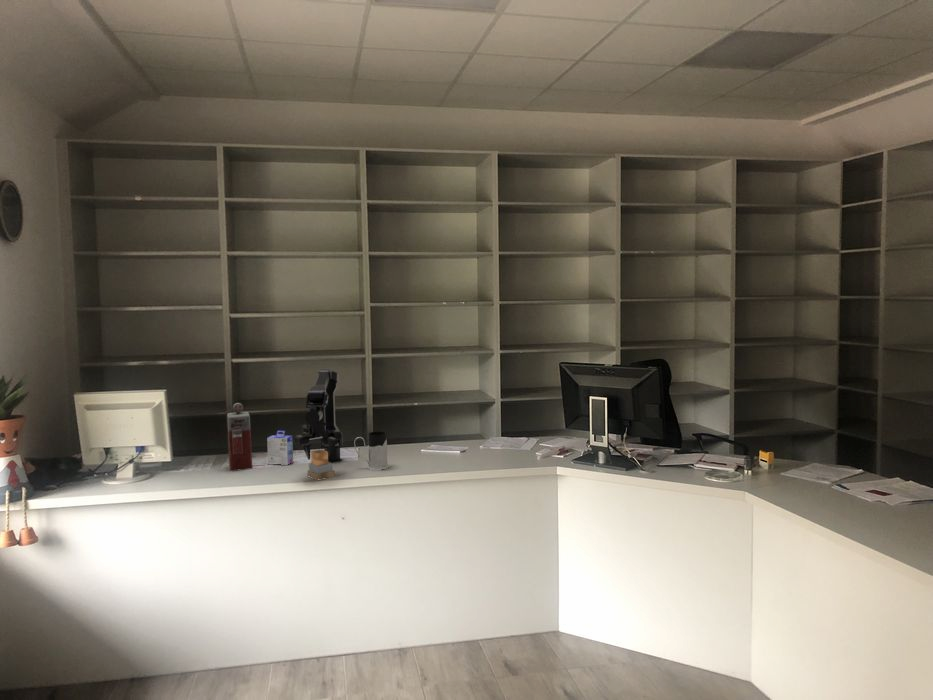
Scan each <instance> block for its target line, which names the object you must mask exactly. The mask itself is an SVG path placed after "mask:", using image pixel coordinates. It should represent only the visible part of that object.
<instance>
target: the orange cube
mask: <svg viewBox="0 0 933 700" xmlns="http://www.w3.org/2000/svg"><path fill="white" fill-rule="evenodd" d="M310 460H311V462H310V463H312V464H314V465H316V466H319V465H324V464H328V452H327V451H325V450H324V449H319V450H317V449H316V450H310Z"/></svg>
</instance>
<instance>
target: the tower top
mask: <svg viewBox="0 0 933 700" xmlns="http://www.w3.org/2000/svg"><path fill="white" fill-rule="evenodd" d="M333 468H334V467H333V462H328V464H324V465H319V466H316V465H314V464H312V463H311V462H309V463H308V470H309V471H311V472H314V473H316V474H319V473H324V472H329V471H334V469H333Z"/></svg>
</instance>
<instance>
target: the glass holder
mask: <svg viewBox="0 0 933 700" xmlns="http://www.w3.org/2000/svg"><path fill="white" fill-rule="evenodd" d="M367 435H368V445H366V441H365V439H364V437H362V436H358V437H356V438H355V439H354V442H353V444H354V449H355V452H356V453H357V455H358V456H359V457H361V458H362V459H363V460H365V461H366V462H367V464H368V467H367V469H368V468H369V469H372V470H371V471H374V470H379V471H382V470H381V469H385V468H388V469H389V465H388V441H387V432H386V431H372V432H371V431H370V432H369V433H367ZM357 439H362V441H363V445H364V447H366V448H368V459H366V458H365V457H364V456H363V455H361V454H360V453H359V452H358V449H357V447H356V441H357ZM369 469H368V470H369ZM385 470H386V469H385Z"/></svg>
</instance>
